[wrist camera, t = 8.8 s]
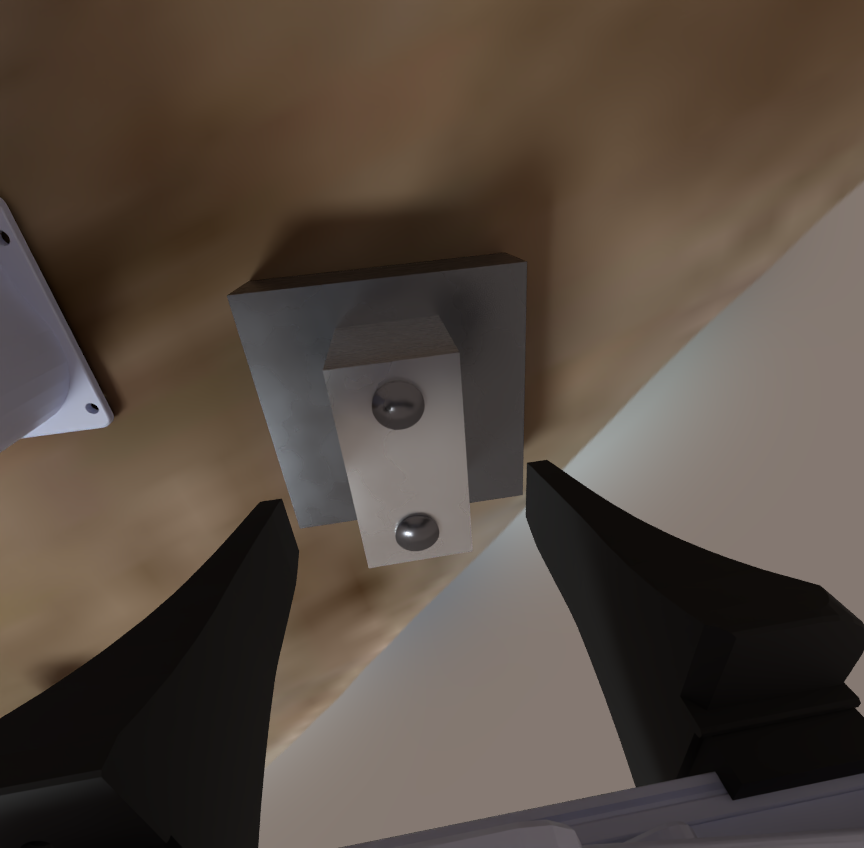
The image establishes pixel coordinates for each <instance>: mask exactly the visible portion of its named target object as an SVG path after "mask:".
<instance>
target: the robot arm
mask: <svg viewBox="0 0 864 848" xmlns="http://www.w3.org/2000/svg"><path fill="white" fill-rule="evenodd" d="M2 231H3V232H5V233H6V234H7V235H8V236H9V238H10V243H9V244H8V243H6V242H5V241H4V240H3V238H2V236H1V233H2ZM91 403H93V404H95V405H96V406H97V407H98V408H99V410H96V409H94V408H93V407H92V406H91ZM113 420H114V415H113V412H112V411H111V409H110V407H109V405H108V403H107V401H106V399H105V397H104V395H103V393H102V391H101V389H100V387H99V385H98V383H97V381H96V379H95V377H94V375H93V373H92V371H91V369H90V367H89V365H88V363H87V361H86V359H85V357H84V355H83V353H82V351H81V349H80V347H79V346H78V344H77V342H76V340H75V338H74V336H73V334H72V332H71V330H70V328H69V326H68V324H67V322H66V320H65V318H64V316H63V314H62V312H61V310H60V308H59V306H58V304H57V302H56V300H55V298H54V296H53V294H52V292H51V290H50V288H49V286H48V284H47V283H46V281H45V279H44V277H43V275H42V273H41V271H40V269H39V267H38V265H37V263H36V261H35V259H34V257H33V255H32V253H31V251H30V249H29V247H28V245H27V243H26V241H25V239H24V237H23V235H22V233H21V231H20V229H19V227H18V225H17V223H16V221H15V219H14V218H13V216H12V214H11V212H10V210H9V208H8V206H7V204H6V203H5V201H4V200H3V199H2V198H0V452H2V451H3V450H5V449H6V448H8V447H9V446H11V445H12V444H13V443H15V442H16V441H18V440H19V439H21V438H28V437H35V436H43V435H51V434H58V433H66V432H74V431H81V430H89V429H96V428H103V427H107V426H108V425H109V424H110V423H111V422H112V421H113ZM526 518H527V521H528V524H529V527H530V530H531V533H532V535H533V538H534V540H535V543H536V546H537V548H538V550H539V552H540V554H541V556H542V558H543V560H544V561H545V564H546V565H547V567H548V569H549V571H550V573H551V575H552V577H553V579H554V581H555V583H556V585H557V587H558V588H559V590H560V592H561V594H562V596H563V598H564V600H565V602H566V604H567V606H568V608H569V610H570V612H571V614H572V616H573V618H574V620H575V622H576V625H577V627H578V629H579V632H580V634H581V637H582V639H583V642H584V644H585V647H586V649H587V652H588V654H589V657H590V659H591V662H592V665H593V667H594V670H595V673H596V675H597V678H598V680H599V683H600V686H601V688H602V691H603V694H604V696H605V699H606V702H607V705H608V708H609V710H610V713H611V716H612V719H613V721H614V724H615V727H616V730H617V733H618V735H619V738H620V741H621V744H622V747H623V750H624V753H625V756H626V759H627V762H628V765H629V768H630V771H631V774H632V777H633V780H634V783H635V786H636V788H631V789H627V790H621V791H617V792H611V793H607V794H601V795H597V796H592V797H587V798H582V799H577V800H572V801H567V802H562V803H557V804H552V805H547V806H543V807H538V808H533V809H528V810H523V811H518V812H513V813H508V814H503V815H498V816H493V817H488V818H484V819H478V820H473V821H469V822H464V823H459V824H454V825H449V826H444V827H439V828H434V829H429V830H424V831H419V832H414V833H409V834H404V835H400V836H395V837H390V838H385V839H380V840H375V841H370V842H365V843H360V844H355V845H351V846H345V847H341V848H864V717H863V716H862V715H861V714H860V713H859V712H858V711H857V710H856V709H855V708H856V707H859V705H860V704H861V702H860V700H859V698H858V696H857V695H856V694H855V693H854V692H853V691H852V690H851V689H850V688H849V687H848V686H847V685H846V684H845V683H844V681H845V679H846V678H847V676H848V675H849V673H850V672H851V670H852V669H853V667H854V666H855V664H856V663H857V661H858V660H859V658H860V657H861V655H862V653H863V651H864V624H863V622H862V621H861V620H860V619H858V618H857V617H856V616H855V615H854V614H853V613H851V612H850V611H849V610H848V609H847V608H846V607H844V606H843V605H842V604H841V603H840V602H839V601H838V600H836V599H835V598H834V597H833V596H832V595H831V594H829V593H828V592H827V591H826V590H825V589H824V588H822V587H821V586H820V585H816V584H813V583H809V582H805V581H802V580H798V579H795V578H791V577H788V576H784V575H780V574H776V573H773V572H770V571H766V570H763V569H760V568H756V567H753V566H750V565H747V564H744V563H742V562H738V561H736V560H733V559H729V558H727V557H724V556H721V555H719V554H716V553H713V552H711V551H708V550H705V549H703V548H701V547H698V546H696V545H693V544H691V543H688V542H686V541H683V540H681V539H679V538H677V537H674V536H672V535H670V534H668V533H666V532H663V531H662V530H660V529H658V528H656V527H654V526H652V525H650V524H647V523H645V522H644V521H642V520H640V519H638V518H636V517H634V516H632V515H631V514H629V513H627V512H626V511H624V510H622V509H620V508H619V507H617V506H615V505H613V504H612V503H610V502H609V501H607V500H605V499H604V498H602V497H601V496H599V495H598V494H596V493H595V492H593V491H591V490H590V489H589V488H587V487H586V486H584V485H583V484H581V483H580V482H578V481H577V480H575V479H574V478H572V477H571V476H570V475H568V474H567V473H565V472H564V471H563V470H561V469H560V468H558V467H557V466H555V465H554V464H552V463H551V462H549V461H548V460H543V461H536V462H529V463H527V485H526ZM298 558H299V550H298V546H297V543H296V540H295V537H294V534H293V531H292V528H291V525H290V522H289V519H288V516H287V513H286V510H285V507H284V504H283V501H282V499H276V500H269V501H263V502H260V503H259V504H258V505H257V506H256V507H255V508H254V509H253V510H252V511H251V513H250V514H249V515H248V516H247V517H246V518H245V519H244V521H243V522H242V523H241V524H240V525H239V526H238V527H237V529H236V530H235V531H234V532H233V533H232V534H231V535H230V536H229V537H228V539H227V540H226V541H225V542H224V543H223V544H222V545H221V546H220V547H219V549H218V550H217V551H216V552H215V553H214V554H213V555H212V556H211V557H210V558H209V559H208V560H207V561H206V562H205V563H204V564H203V565H202V566H201V567H200V568H199V569H198V570H197V571H196V572H195V573H194V574H193V575H192V576H191V577H190V578H189V579H188V580H187V581H186V582H185V583H184V584H183V585H182V586H181V587H180V588H179V589H178V590H177V591H176V592H175V593H174V594H173V595H171V596H170V597H169V598H168V599H167V600H166V601H165V602H164V603H162V604H161V605H160V606H159V607H158V608H157V609H156V610H154V611H153V612H152V613H151V614H150V615H149V616H147V617H146V618H145V619H144V620H142V621H141V622H140V623H139V624H137V625H136V626H135V627H133V628H132V629H131V630H130V631H128V632H127V633H126V634H124V635H123V636H122V637H121V638H119V639H118V640H117V641H115V642H114V643H113V644H112V645H110V646H109V647H108V648H106V649H105V650H104V651H102V652H101V653H100V654H98V655H97V656H95V657H94V658H93V659H91V660H90V661H88V662H87V663H85V664H84V665H83V666H81V667H80V668H78V669H77V670H75V671H74V672H72V673H71V674H69V675H68V676H66V677H65V678H64V679H62V680H61V681H59V682H58V683H56V684H55V685H53V686H52V687H50V688H48V689H47V690H45V691H44V692H42V693H41V694H39V695H38V696H36V697H34V698H33V699H31V700H29V701H28V702H26V703H25V704H23V705H21V706H20V707H18V708H16V709H15V710H13V711H12V712H10V713H8V714H7V715H5V716H3V717H2V718H0V848H258V842H259V827H260V826H259V825H260V812H261V800H262V788H263V778H264V767H265V757H266V748H267V739H268V730H269V721H270V712H271V705H272V697H273V689H274V682H275V676H276V670H277V665H278V660H279V656H280V651H281V647H282V643H283V639H284V634H285V630H286V626H287V621H288V617H289V613H290V609H291V604H292V600H293V595H294V591H295V586H296V579H297V570H298Z"/></svg>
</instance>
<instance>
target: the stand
mask: <svg viewBox="0 0 864 848" xmlns="http://www.w3.org/2000/svg"><path fill="white" fill-rule="evenodd" d="M526 289H527V261H524V260H522V259H519V258H517V257H514V256H512V255H509V254H507V253H498V254H489V255H480V256H471V257H462V258H453V259H444V260H435V261H426V262H417V263H408V264H399V265H390V266H381V267H372V268H363V269H354V270H345V271H336V272H327V273H318V274H309V275H300V276H291V277H282V278H273V279H264V280H255V281H248V282H247V283H245V284H244V285H242V286H241V287H239V288H238V289H236V290H235V291H233V292H232V293H230V294H229V295H227V298H228V301H229V304H230V307H231V310H232V314H233V317H234V320H235V323H236V326H237V329H238V333H239V336H240V339H241V342H242V345H243V349H244V352H245V355H246V358H247V361H248V364H249V368H250V371H251V374H252V377H253V380H254V384H255V387H256V390H257V393H258V396H259V399H260V403H261V406H262V409H263V412H264V415H265V418H266V422H267V425H268V428H269V431H270V434H271V438H272V441H273V444H274V447H275V450H276V453H277V457H278V460H279V463H280V466H281V469H282V473H283V476H284V479H285V482H286V485H287V488H288V492H289V495H290V498H291V501H292V504H293V508H294V511H295V514H296V517H297V520H298V523H299V527H300V528H306V527H313V526H320V525H326V524H333V523H340V522H346V521H353V520H357V515H356V511H355V507H354V503H353V498H352V494H351V490H350V486H349V481H348V477H347V473H346V468H345V464H344V460H343V456H342V451H341V447H340V443H339V439H338V434H337V430H336V426H335V422H334V417H333V413H332V409H331V404H330V400H329V396H328V392H327V387H326V383H325V379H324V375H323V368H324V364H325V361H326V357H327V354H328V350H329V347H330V344H331V340H332V337H333V333H334V330H335V329H336V328H344V327H351V326H359V325H367V324H375V323H383V322H391V321H399V320H407V319H415V318H422V317H430V316H438V315H439V317H440V319H441V321H442V322H443V324H444V326H445V328H446V329H447V331H448V333H449V335H450V337H451V338H452V340H453V342H454V344H455V345H456V347H457V349H458V351H459V352H460V367H461V382H462V397H463V412H464V428H465V443H466V458H467V473H468V488H469V503H472V502H479V501H485V500H492V499H499V498H505V497H512V496H519V495H523V446H524V394H525V341H526Z"/></svg>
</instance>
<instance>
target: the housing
mask: <svg viewBox="0 0 864 848" xmlns="http://www.w3.org/2000/svg"><path fill="white" fill-rule="evenodd" d="M323 375H324V379H325V383H326V387H327V392H328V396H329V400H330V404H331V409H332V413H333V417H334V422H335V426H336V430H337V434H338V439H339V443H340V447H341V451H342V456H343V460H344V464H345V468H346V473H347V477H348V481H349V486H350V490H351V494H352V498H353V503H354V507H355V511H356V515H357V520H358V524H359V528H360V533H361V537H362V541H363V545H364V550H365V554H366V558H367V562H368V567H369V568H373V567H379V566H385V565H391V564H397V563H403V562H409V561H415V560H422V559H428V558H434V557H440V556H446V555H452V554H458V553H464V552H470V551H473V549H472V533H471V518H470V503H469V488H468V473H467V458H466V443H465V428H464V412H463V397H462V382H461V367H460V352H459V351H458V349H457V347H456V345H455V344H454V342H453V340H452V338H451V337H450V335H449V333H448V331H447V329H446V328H445V326H444V324H443V322H442V321H441V319H440V317H439V315H438V316H430V317H422V318H415V319H407V320H399V321H391V322H383V323H375V324H367V325H359V326H351V327H344V328H336V329H335V330H334V333H333V337H332V340H331V344H330V347H329V350H328V354H327V357H326V361H325V364H324V368H323Z"/></svg>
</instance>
